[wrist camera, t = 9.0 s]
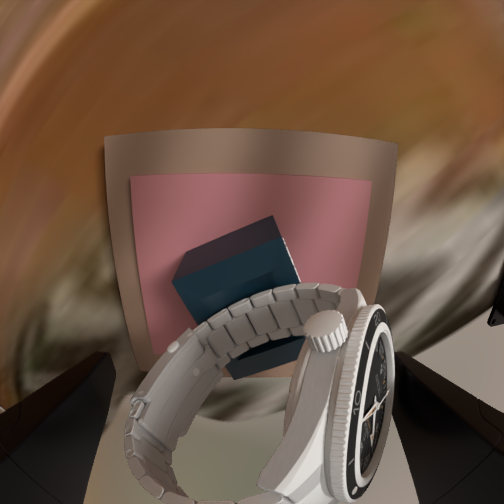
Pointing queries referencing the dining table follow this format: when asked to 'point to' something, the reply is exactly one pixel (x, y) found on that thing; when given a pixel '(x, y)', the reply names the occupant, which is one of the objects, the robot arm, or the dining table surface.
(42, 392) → the robot arm
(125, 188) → the pink square tray
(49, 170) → the dining table surface
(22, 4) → the dining table surface
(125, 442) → the watch
